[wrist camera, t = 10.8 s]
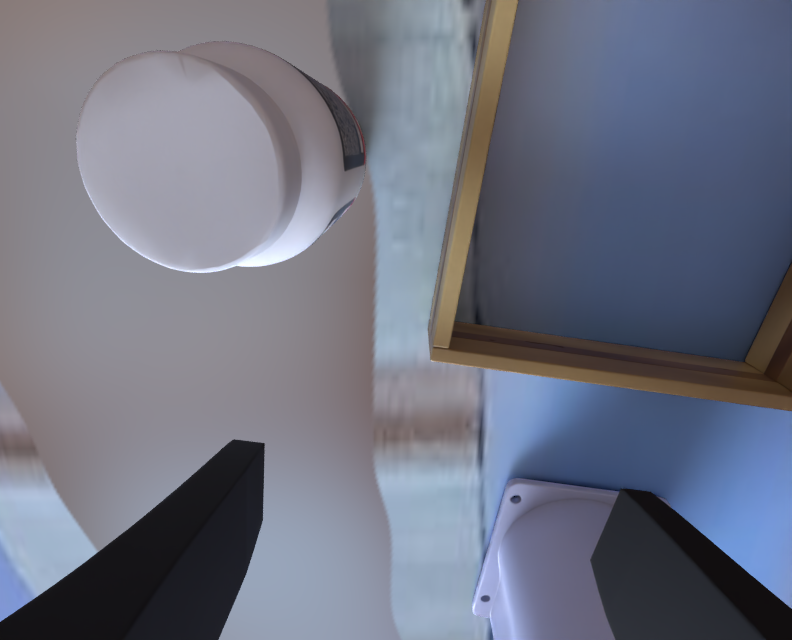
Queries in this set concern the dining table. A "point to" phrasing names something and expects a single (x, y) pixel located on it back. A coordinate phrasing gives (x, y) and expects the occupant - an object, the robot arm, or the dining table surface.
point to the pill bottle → (217, 156)
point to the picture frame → (563, 356)
